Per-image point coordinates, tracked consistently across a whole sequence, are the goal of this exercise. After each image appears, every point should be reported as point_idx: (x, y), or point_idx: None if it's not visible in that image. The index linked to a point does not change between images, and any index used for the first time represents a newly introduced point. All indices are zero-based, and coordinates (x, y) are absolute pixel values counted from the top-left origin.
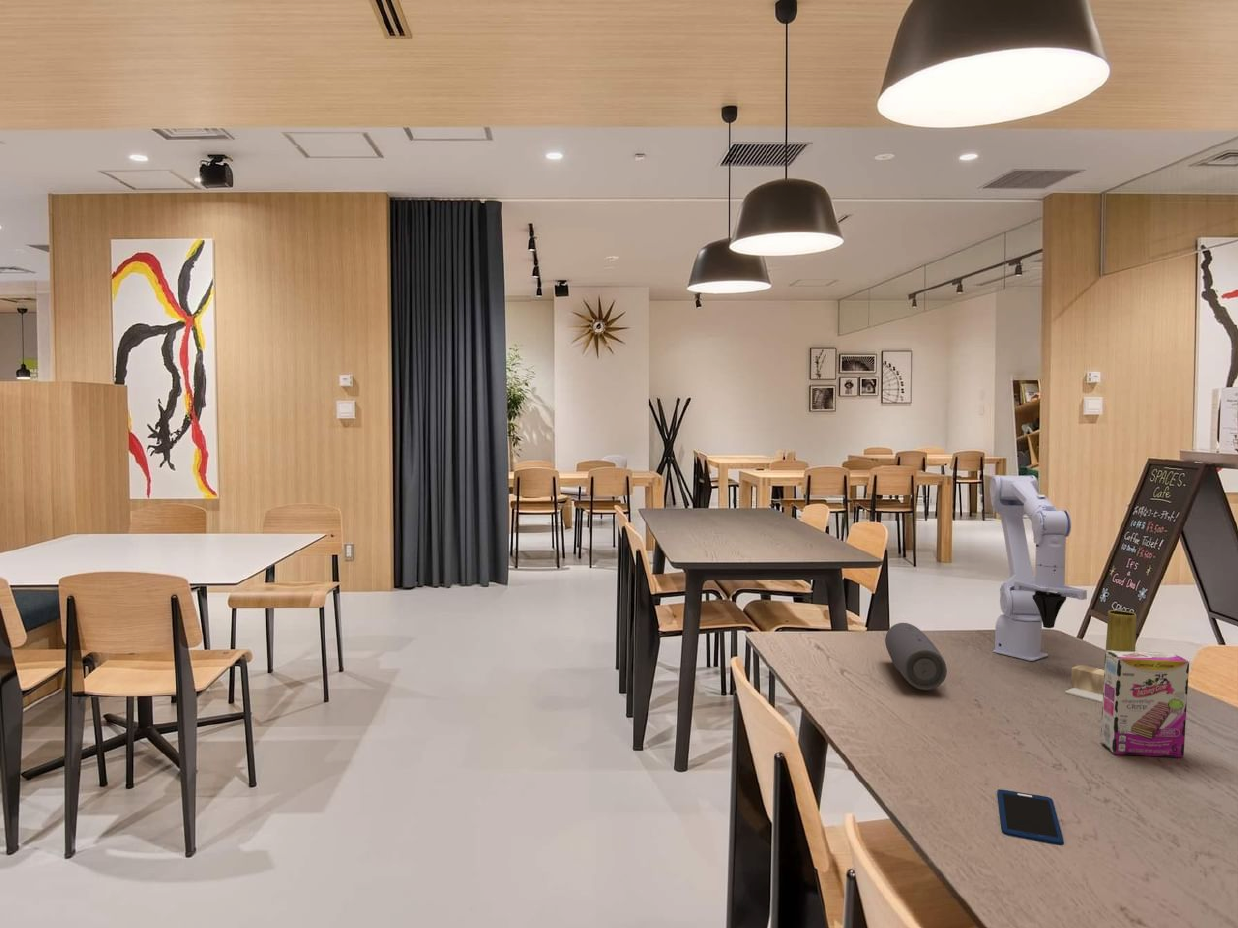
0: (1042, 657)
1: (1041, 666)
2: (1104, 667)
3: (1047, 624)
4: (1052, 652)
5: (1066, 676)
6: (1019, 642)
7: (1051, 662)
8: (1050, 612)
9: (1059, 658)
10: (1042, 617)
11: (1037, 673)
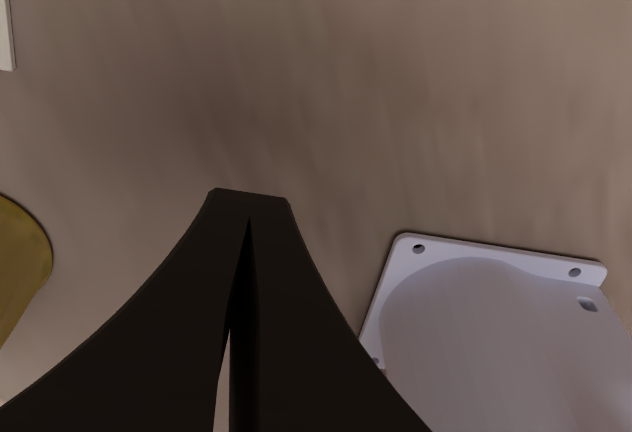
0: (367, 314)
1: (338, 184)
2: (27, 263)
3: (229, 205)
4: None
5: (166, 82)
6: (493, 310)
7: None
8: (138, 310)
9: None
10: (294, 260)
11: (319, 21)
